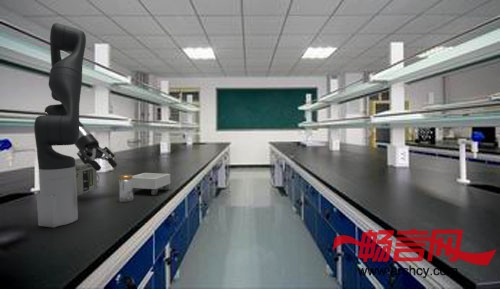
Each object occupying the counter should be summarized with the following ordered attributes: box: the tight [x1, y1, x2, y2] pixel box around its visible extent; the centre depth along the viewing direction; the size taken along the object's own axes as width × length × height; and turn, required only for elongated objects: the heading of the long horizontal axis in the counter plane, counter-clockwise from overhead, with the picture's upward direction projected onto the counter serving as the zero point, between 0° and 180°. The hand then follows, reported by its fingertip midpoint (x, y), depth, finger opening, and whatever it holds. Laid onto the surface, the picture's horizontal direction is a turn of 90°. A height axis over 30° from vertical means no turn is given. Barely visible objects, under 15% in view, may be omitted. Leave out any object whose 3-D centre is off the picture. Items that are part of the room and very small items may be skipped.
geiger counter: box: [75, 162, 100, 197], centre depth 121 cm, size 14×6×25 cm
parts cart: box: [132, 172, 171, 196], centre depth 120 cm, size 12×14×8 cm
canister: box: [118, 174, 134, 203], centre depth 107 cm, size 5×5×10 cm
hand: (107, 167), depth 108 cm, fingers open, 8 cm apart
